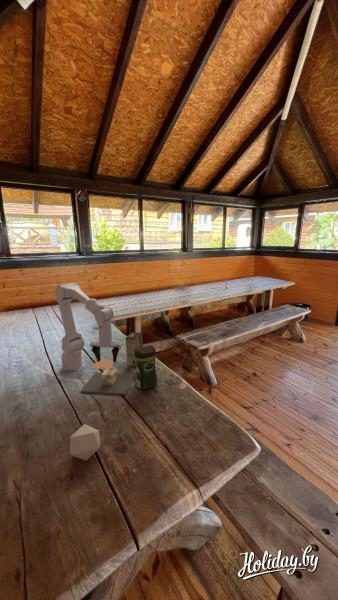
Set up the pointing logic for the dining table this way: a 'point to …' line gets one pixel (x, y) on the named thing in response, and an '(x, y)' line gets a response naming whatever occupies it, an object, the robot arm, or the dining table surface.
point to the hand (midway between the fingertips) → (106, 361)
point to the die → (84, 442)
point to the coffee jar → (145, 367)
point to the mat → (116, 389)
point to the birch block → (109, 377)
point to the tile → (103, 364)
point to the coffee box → (133, 346)
